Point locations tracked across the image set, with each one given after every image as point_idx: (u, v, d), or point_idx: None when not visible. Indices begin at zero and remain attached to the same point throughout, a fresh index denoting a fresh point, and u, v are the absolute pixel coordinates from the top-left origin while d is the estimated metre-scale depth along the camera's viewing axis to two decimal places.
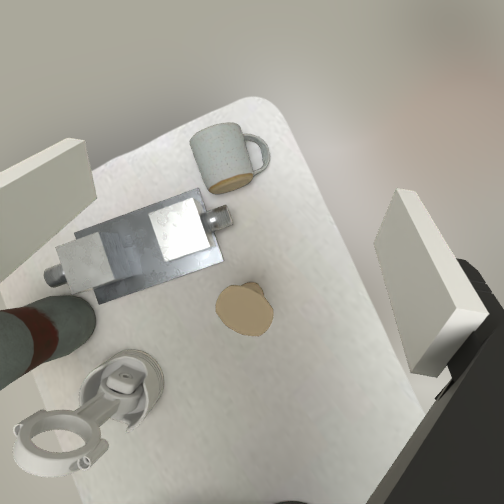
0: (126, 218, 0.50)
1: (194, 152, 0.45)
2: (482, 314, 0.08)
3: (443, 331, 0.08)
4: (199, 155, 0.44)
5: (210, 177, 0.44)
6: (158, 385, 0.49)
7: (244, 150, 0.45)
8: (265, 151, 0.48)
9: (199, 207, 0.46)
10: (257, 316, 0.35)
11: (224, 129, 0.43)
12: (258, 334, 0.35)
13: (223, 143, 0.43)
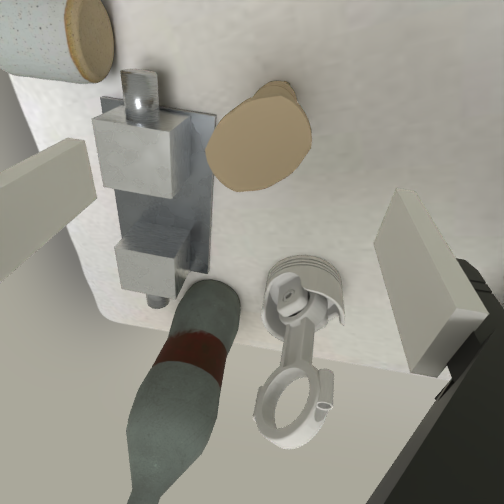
0: (121, 204, 0.40)
1: (27, 75, 0.28)
2: (482, 314, 0.08)
3: (443, 331, 0.08)
4: (28, 70, 0.27)
5: (64, 70, 0.26)
6: (321, 270, 0.39)
7: None
8: None
9: (118, 113, 0.30)
10: (277, 130, 0.18)
11: None
12: (308, 146, 0.18)
13: (3, 16, 0.24)
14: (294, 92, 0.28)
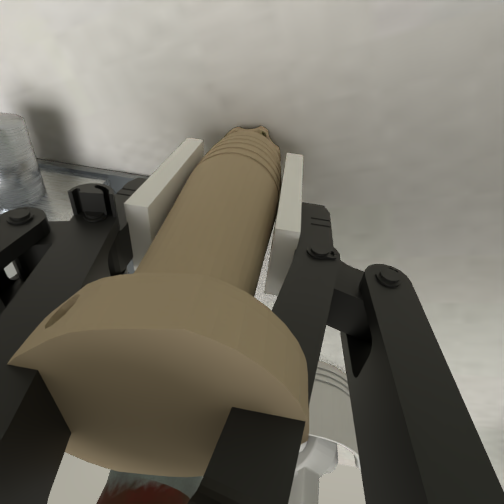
0: None
1: None
2: (296, 233, 0.09)
3: (273, 250, 0.10)
4: None
5: None
6: (327, 387, 0.27)
7: None
8: None
9: None
10: (194, 399, 0.05)
11: None
12: None
13: None
14: (275, 154, 0.15)
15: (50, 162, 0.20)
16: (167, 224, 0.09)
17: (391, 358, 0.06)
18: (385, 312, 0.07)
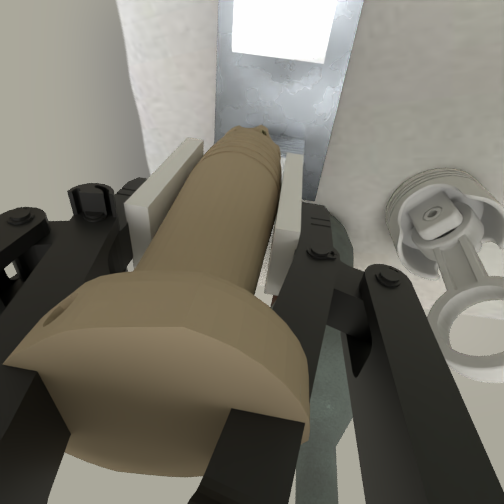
0: (221, 106, 0.32)
1: None
2: (296, 233, 0.09)
3: (273, 250, 0.10)
4: None
5: None
6: (474, 181, 0.32)
7: None
8: None
9: None
10: (194, 399, 0.05)
11: None
12: None
13: None
14: (275, 152, 0.15)
15: None
16: (167, 222, 0.09)
17: (391, 358, 0.06)
18: (385, 312, 0.07)
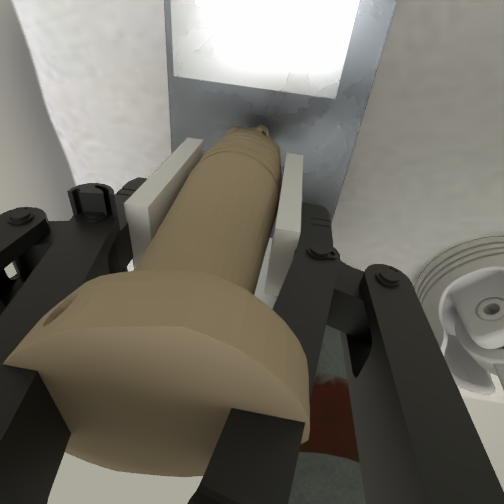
0: None
1: None
2: (296, 233, 0.09)
3: (273, 250, 0.10)
4: None
5: None
6: None
7: None
8: None
9: None
10: (194, 399, 0.05)
11: None
12: None
13: None
14: (275, 152, 0.15)
15: None
16: (167, 222, 0.09)
17: (391, 358, 0.06)
18: (385, 312, 0.07)
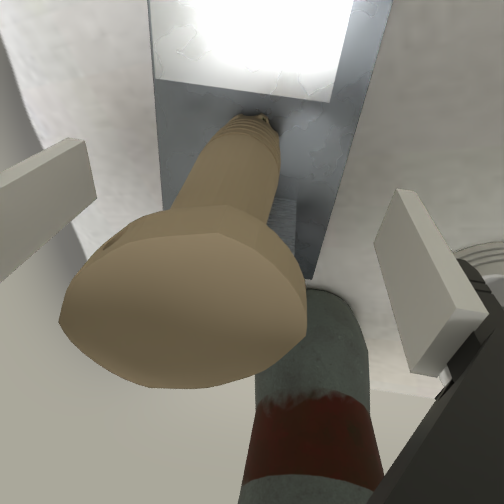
0: (168, 153, 0.21)
1: None
2: (482, 314, 0.08)
3: (443, 331, 0.08)
4: None
5: None
6: None
7: None
8: None
9: None
10: (220, 301, 0.07)
11: None
12: (298, 332, 0.07)
13: None
14: (275, 136, 0.16)
15: None
16: (186, 188, 0.11)
17: None
18: None
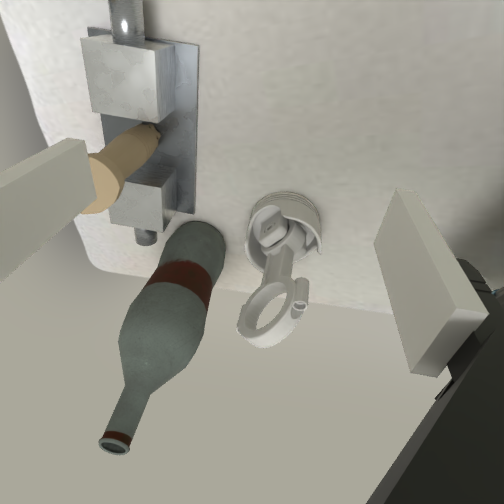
0: (109, 141, 0.42)
1: None
2: (482, 314, 0.08)
3: (443, 331, 0.08)
4: None
5: None
6: (300, 203, 0.42)
7: None
8: None
9: (105, 37, 0.32)
10: (96, 177, 0.28)
11: None
12: (117, 187, 0.28)
13: None
14: (150, 135, 0.37)
15: None
16: None
17: None
18: None
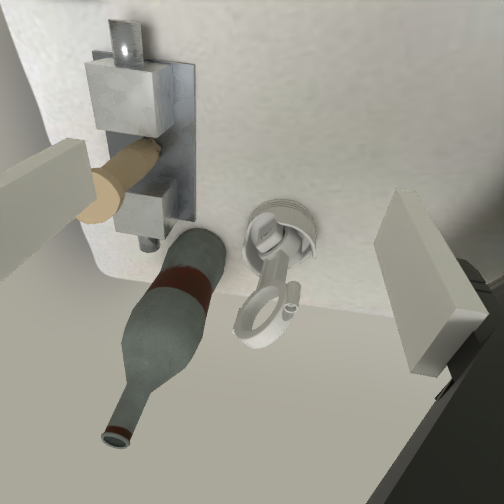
0: (114, 155, 0.44)
1: None
2: (482, 314, 0.08)
3: (443, 331, 0.08)
4: None
5: None
6: (295, 210, 0.44)
7: None
8: None
9: (108, 61, 0.34)
10: (98, 190, 0.30)
11: None
12: (118, 198, 0.31)
13: None
14: (151, 148, 0.40)
15: None
16: (102, 166, 0.34)
17: None
18: None
